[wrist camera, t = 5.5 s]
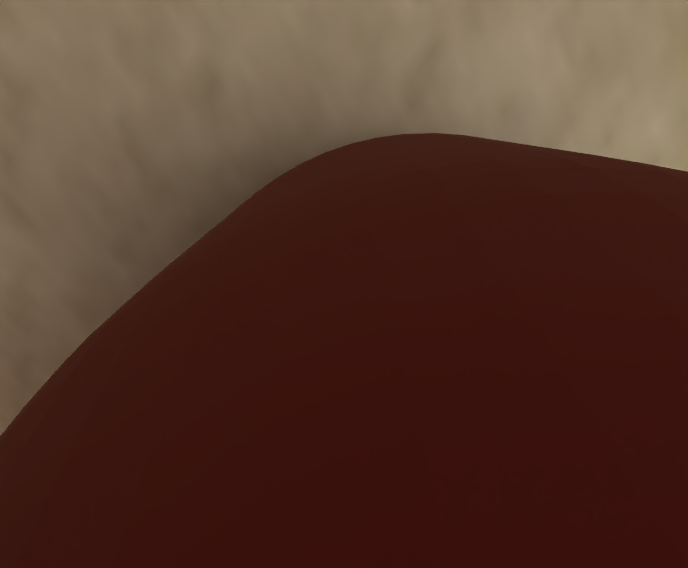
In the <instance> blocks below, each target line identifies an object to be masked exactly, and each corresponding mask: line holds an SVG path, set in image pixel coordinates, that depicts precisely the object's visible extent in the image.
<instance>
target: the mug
mask: <svg viewBox="0 0 688 568" xmlns="http://www.w3.org/2000/svg"><path fill="white" fill-rule="evenodd" d="M0 568H688V172H686V171H681V170H675V169H670V168H665V167H660V166H654V165H649V164H644V163H638V162H632V161H626V160H620V159H614V158H608V157H602V156H596V155H590V154H584V153H577V152H570V151H564V150H557V149H551V148H544V147H537V146H531V145H524V144H517V143H511V142H504V141H498V140H491V139H484V138H478V137H471V136H465V135H452V134H437V133H429V134H402V135H394V136H387V137H379V138H374V139H370V140H365V141H361V142H357V143H353V144H349V145H346V146H343V147H340V148H337V149H335V150H332V151H329V152H326V153H324V154H322V155H319V156H317V157H315V158H313V159H311V160H308V161H306V162H304V163H302V164H300V165H299V166H297V167H295V168H293V169H292V170H290V171H288V172H286V173H285V174H283V175H281V176H279V177H278V178H276V179H275V180H273V181H272V182H270V183H269V184H268V185H266V186H265V187H264V188H262V189H261V190H259V191H258V192H257V193H255V194H254V195H253V196H252V197H250V198H249V199H248V200H247V201H246V202H244V203H243V204H242V205H241V206H240V207H238V208H237V209H236V210H235V211H234V212H232V213H231V214H230V215H229V216H228V217H226V218H225V219H224V220H223V221H222V222H220V223H219V224H218V225H217V226H216V227H214V228H213V229H212V230H211V231H210V232H208V233H207V234H206V235H205V236H204V237H202V238H201V239H200V240H199V241H198V242H196V243H195V244H194V245H193V246H192V247H190V248H189V249H188V250H187V251H186V252H184V253H183V254H182V255H181V256H180V257H178V258H177V259H176V260H175V261H174V262H172V263H171V264H170V265H169V266H168V267H166V268H165V269H164V270H163V271H162V272H160V273H159V274H158V275H157V276H156V277H154V278H153V279H152V280H151V281H150V282H149V283H148V284H147V285H145V286H144V287H143V288H142V289H141V290H140V291H139V292H138V293H137V294H135V295H134V296H133V297H132V298H131V299H130V300H129V301H128V302H126V303H125V304H124V305H123V306H122V307H121V308H120V309H119V310H117V311H116V312H115V313H114V314H113V315H112V316H111V317H110V318H109V319H108V320H106V321H105V322H104V323H103V324H102V325H101V326H100V327H99V328H98V329H97V330H95V331H94V332H93V333H92V334H91V335H90V336H89V337H88V338H87V339H86V340H85V341H84V342H83V343H82V344H81V345H80V346H79V347H78V348H77V349H76V351H75V352H74V353H73V354H72V355H71V356H70V357H69V358H68V359H67V360H66V361H65V362H64V363H63V364H62V365H61V366H60V367H59V369H58V370H57V371H56V372H55V373H54V374H53V375H52V376H51V378H50V379H49V380H48V381H47V382H46V383H45V384H44V385H43V387H42V388H41V389H40V390H39V391H38V392H37V393H36V394H35V395H34V397H33V398H32V399H31V400H30V401H29V402H28V403H27V404H26V406H25V407H24V408H23V409H22V410H21V412H20V413H19V414H18V415H17V417H16V418H15V419H14V420H13V422H12V423H11V424H10V425H9V426H8V428H7V429H6V430H5V431H4V433H3V434H2V435H1V436H0Z"/></svg>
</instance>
